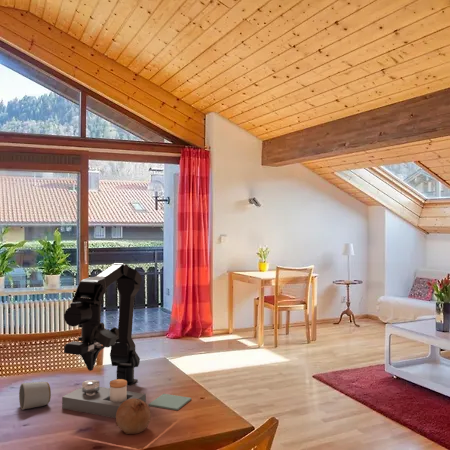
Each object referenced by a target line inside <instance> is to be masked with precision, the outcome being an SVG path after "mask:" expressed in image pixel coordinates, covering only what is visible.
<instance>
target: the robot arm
mask: <svg viewBox="0 0 450 450" xmlns="http://www.w3.org/2000/svg"><path fill="white" fill-rule="evenodd" d="M142 280H143V279H142V275H141V274H140V272H139V271H138V270H136V269H134V268H133V267H130V266H129V265H128V264H127V263H123V262H114V263H112V264H110V266H109V267H107V268H105V270H103V271H102V272H100V273H99V274H97V275H96V276H91V277H86V278H83V279H81V280H80V282H79V284H78V285H77V288H76V289H75V293H74V296H73V298H72V299H71V300H72V301H71V302H70V303H69V307H68V308H67V309H66V310H65V312H64V314H63V318H64V322H65V323H66V324H67V325H68V326H69V327H72V328H73V327H76V326H78V328H81V332H80V333H81V335H80V336H79V337H78V339H77V340H78V341H76V340H73V341H70V342H67V343H66V344H65V345H64V346H63V353H64V354H68V355H75V356H76V355H77V356H81V358H82V360H83V362H84V364H85V366H86V368H87V370H88V371H89V372H91V371H93V370H94V368H95V365H96V362H97V358H98V356H99V353H100V352H101V351H102V350H103V349H105V348H110V353H109V358H110V362H111V366H112V367H116V379H124V380H126V381H127V386H132V385H133V384H135V383H137V382H138V379H136V378H135V368H139V365H140V361H141V360H140V359H141V358H140V357H139V355H138V353H137V351H136V344H135V342H134V340H133V338H132V337H133V336H132V335H133V334H132V333H133V322H134V312H135V311H134V308H135V298H136V296H137V294H138V292H139V291H140V290H141V284H142ZM114 282H116V288H117V291H118V293H119V295H120V300H119V301H120V302H119V312H118V313H119V315H118V326H117V327H111V329H109V328H105V324H104V322H101V320H102V319H101V316H102V315H101V313H102V311H101V310H102V304H104V302H105V301H104V300H103V299H102V298H103V296H104V295H105V294H106V293H107V288H108V287H109V286H111V285H112V284H113V283H114Z"/></svg>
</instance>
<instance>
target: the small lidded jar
mask: <svg viewBox="0 0 450 450" xmlns="http://www.w3.org/2000/svg"><path fill="white" fill-rule="evenodd" d="M127 386H128V385H127V381H126V380H124V379H117V378H116V379H113V380H111V381H109V388H110V401H113V402H119V403H122V402H124V401H126V400H127V391H128V390H127V389H128V388H127Z"/></svg>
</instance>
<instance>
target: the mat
mask: <svg viewBox="0 0 450 450" xmlns="http://www.w3.org/2000/svg"><path fill="white" fill-rule="evenodd" d="M190 401H192V397H189V396H188V397H187V396H183V395H182V396H181V395H175V394H169V393H162V394H161V395H159V396H158V397H157V398H155V399H154V400H152V401H151V402H150V403H148V404H147V405H148V407H154V408H159V409H166V410H171V411H176V412H177V411H178V410H180V409H181V408H183V407H184V406H185V405H186V404H188V403H189V402H190Z"/></svg>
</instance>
